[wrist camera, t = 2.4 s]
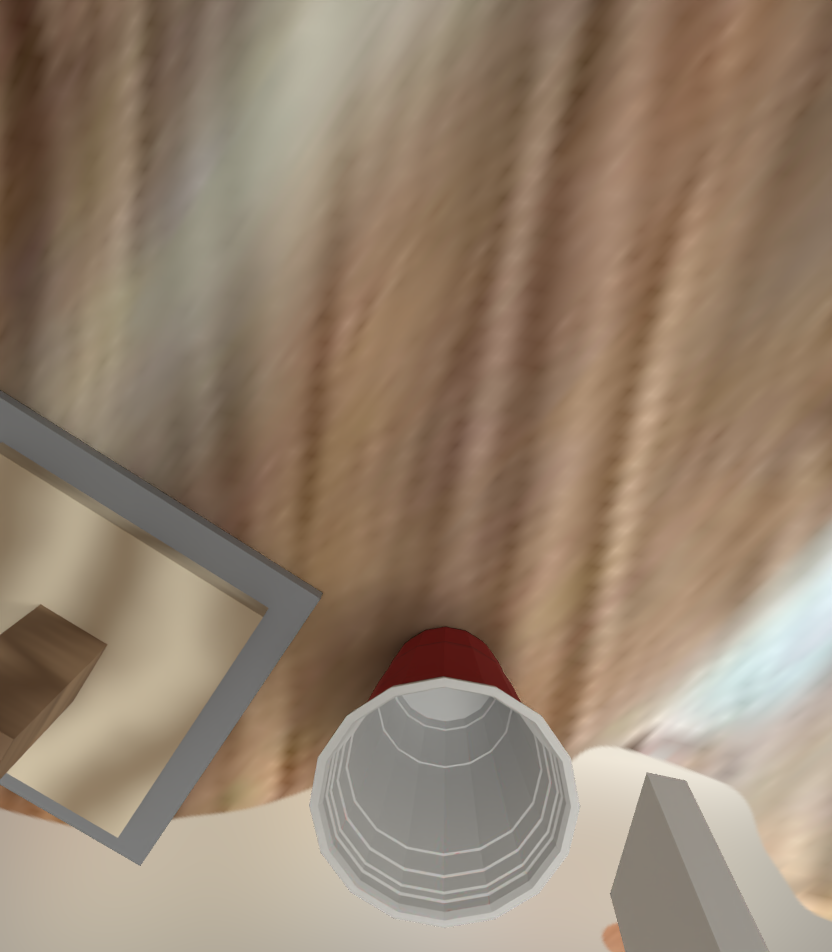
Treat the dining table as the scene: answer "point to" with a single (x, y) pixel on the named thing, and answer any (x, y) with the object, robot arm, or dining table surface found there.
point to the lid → (101, 645)
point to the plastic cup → (444, 789)
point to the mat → (208, 549)
